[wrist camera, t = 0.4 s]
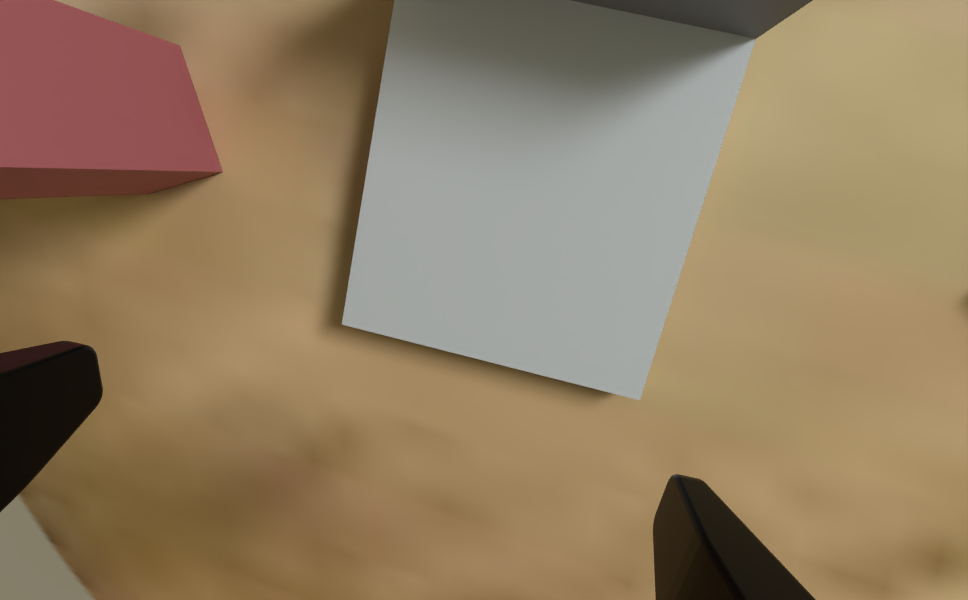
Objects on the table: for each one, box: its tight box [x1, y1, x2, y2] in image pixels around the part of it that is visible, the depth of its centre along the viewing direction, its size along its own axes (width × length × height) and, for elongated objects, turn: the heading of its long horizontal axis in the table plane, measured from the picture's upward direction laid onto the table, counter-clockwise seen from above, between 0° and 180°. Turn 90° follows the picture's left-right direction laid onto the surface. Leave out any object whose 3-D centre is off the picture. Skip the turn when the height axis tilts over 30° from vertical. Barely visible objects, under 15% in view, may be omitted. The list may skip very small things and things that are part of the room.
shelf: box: [342, 0, 812, 400], centre depth 17 cm, size 14×12×8 cm
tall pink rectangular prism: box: [0, 0, 223, 199], centre depth 16 cm, size 5×4×11 cm
